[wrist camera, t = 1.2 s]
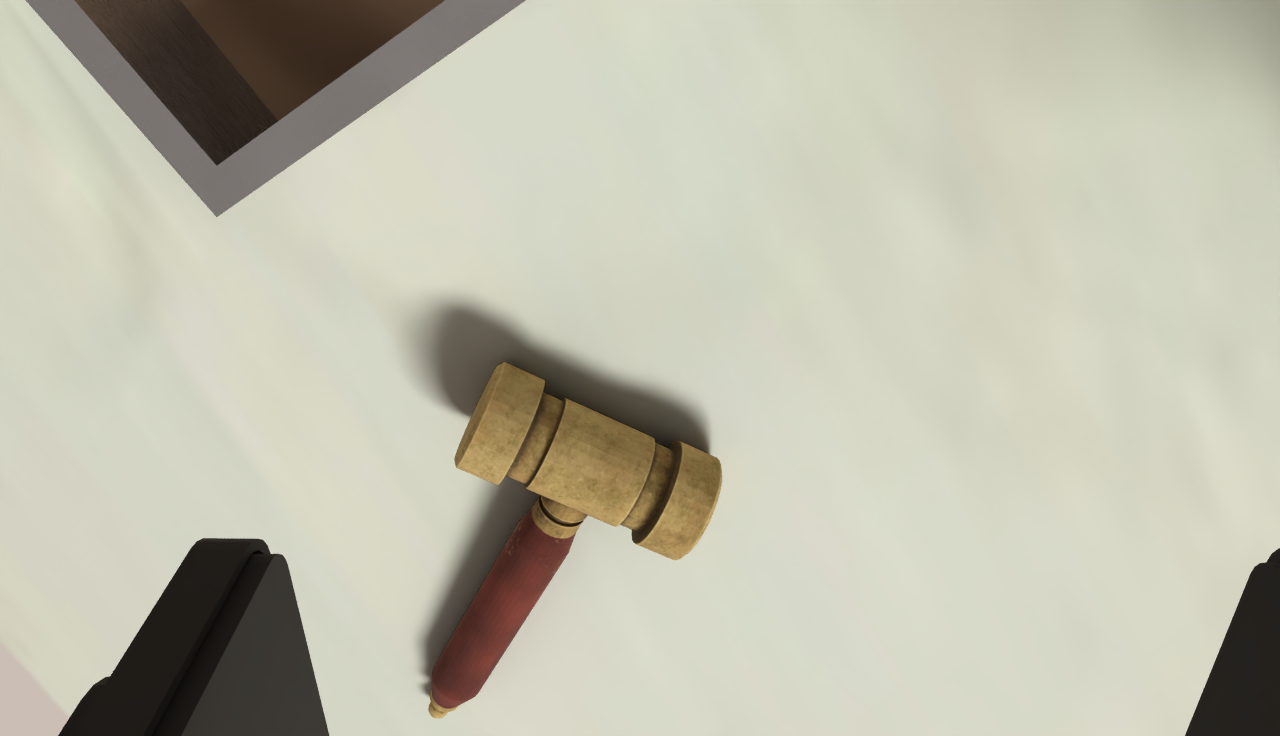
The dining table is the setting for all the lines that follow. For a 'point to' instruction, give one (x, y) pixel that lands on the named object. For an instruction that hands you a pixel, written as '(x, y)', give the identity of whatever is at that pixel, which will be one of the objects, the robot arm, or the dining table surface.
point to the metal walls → (237, 85)
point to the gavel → (562, 508)
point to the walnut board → (301, 40)
